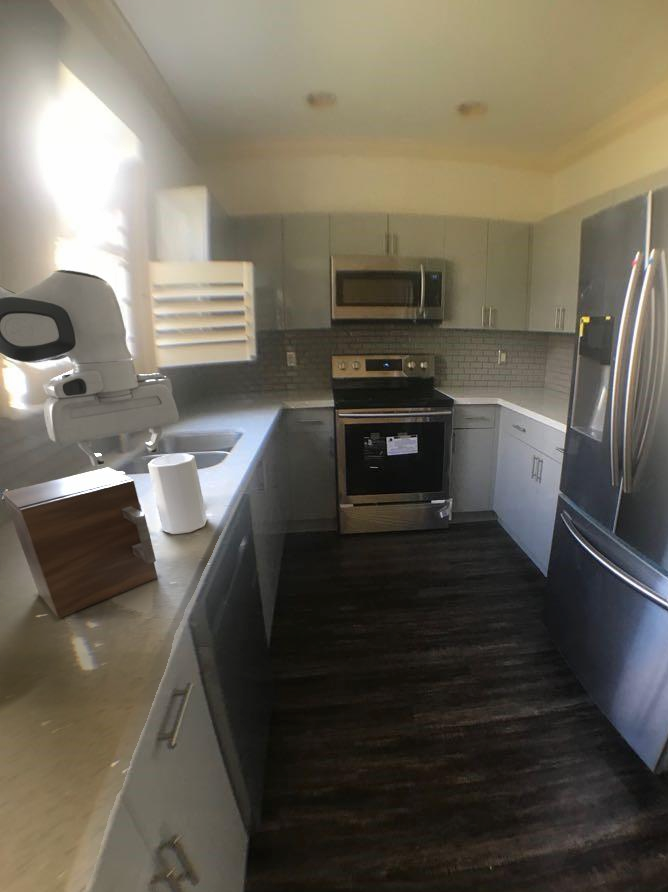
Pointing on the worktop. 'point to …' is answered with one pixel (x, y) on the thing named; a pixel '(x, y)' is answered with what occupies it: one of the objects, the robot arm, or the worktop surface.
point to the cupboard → (48, 493)
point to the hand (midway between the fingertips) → (127, 458)
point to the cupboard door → (91, 545)
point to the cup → (177, 493)
